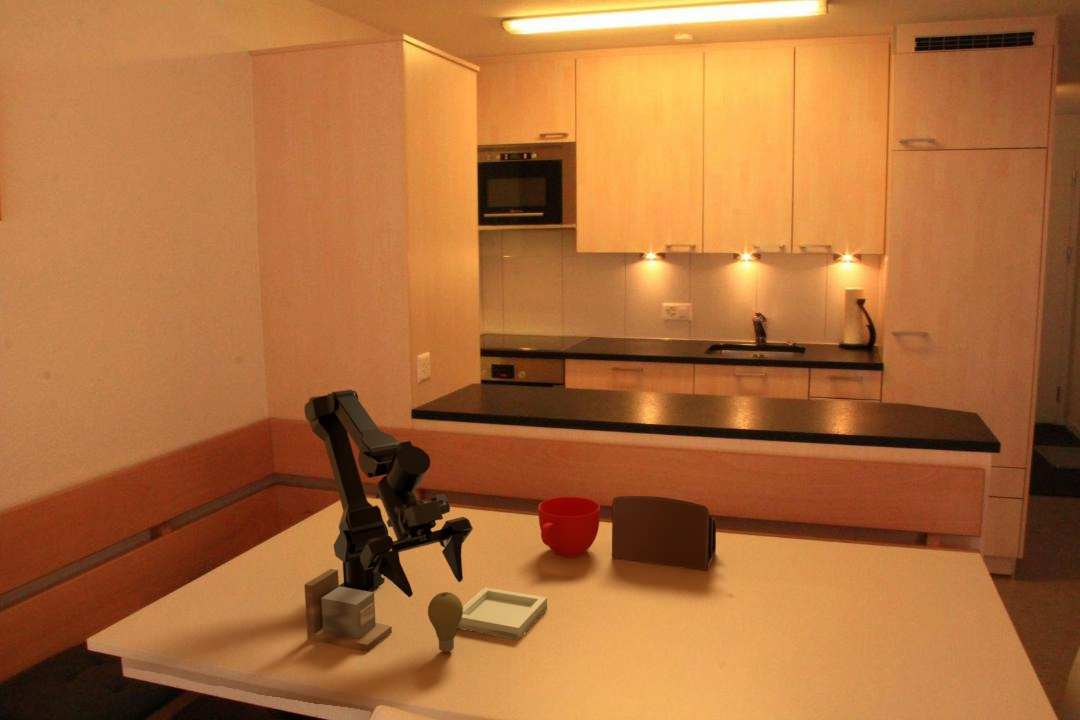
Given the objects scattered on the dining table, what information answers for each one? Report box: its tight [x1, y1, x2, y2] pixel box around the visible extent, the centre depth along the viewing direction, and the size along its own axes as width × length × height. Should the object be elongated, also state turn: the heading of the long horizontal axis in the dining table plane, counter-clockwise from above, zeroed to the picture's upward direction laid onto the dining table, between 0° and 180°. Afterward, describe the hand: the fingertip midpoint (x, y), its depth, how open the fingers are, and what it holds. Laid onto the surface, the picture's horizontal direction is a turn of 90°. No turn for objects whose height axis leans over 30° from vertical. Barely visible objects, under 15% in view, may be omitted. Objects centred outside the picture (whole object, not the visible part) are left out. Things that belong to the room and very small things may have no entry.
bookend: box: [303, 568, 393, 653], centre depth 141 cm, size 12×7×10 cm, turn 67°
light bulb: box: [427, 591, 464, 654], centre depth 135 cm, size 6×6×10 cm
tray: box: [457, 587, 548, 641], centre depth 147 cm, size 12×12×2 cm
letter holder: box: [611, 495, 717, 572], centre depth 173 cm, size 10×20×14 cm, turn 69°
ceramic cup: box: [537, 496, 601, 559], centre depth 175 cm, size 13×17×10 cm
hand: (436, 588), depth 136 cm, fingers open, 9 cm apart
